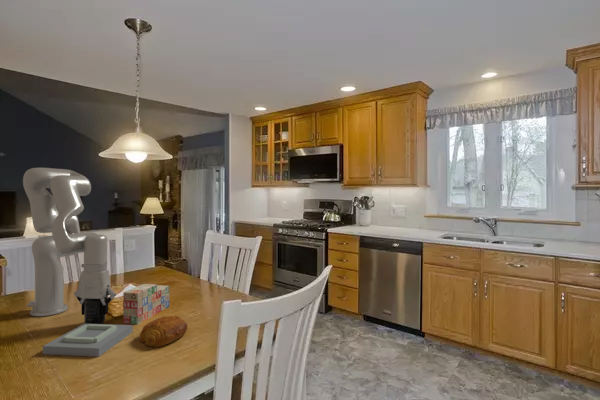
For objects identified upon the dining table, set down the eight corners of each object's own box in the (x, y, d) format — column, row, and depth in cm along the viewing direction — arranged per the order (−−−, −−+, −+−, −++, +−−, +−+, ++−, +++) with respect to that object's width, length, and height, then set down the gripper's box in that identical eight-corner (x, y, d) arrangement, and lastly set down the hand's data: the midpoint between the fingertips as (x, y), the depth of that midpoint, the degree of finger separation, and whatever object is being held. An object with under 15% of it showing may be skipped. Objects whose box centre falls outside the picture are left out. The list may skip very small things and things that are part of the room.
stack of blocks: (156, 305, 147) (156, 278, 147) (169, 306, 146) (169, 278, 146) (122, 323, 126) (122, 291, 126) (137, 325, 125) (137, 292, 125)
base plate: (42, 354, 102) (42, 342, 102) (84, 330, 120) (84, 320, 120) (98, 356, 100) (98, 344, 100) (132, 332, 118) (132, 321, 118)
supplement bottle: (90, 318, 129) (90, 288, 129) (108, 318, 130) (109, 288, 129) (80, 326, 122) (80, 293, 122) (99, 325, 123) (99, 293, 122)
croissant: (194, 339, 118) (197, 316, 119) (159, 352, 104) (163, 325, 105) (164, 331, 124) (167, 309, 125) (128, 341, 110) (131, 317, 111)
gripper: (66, 268, 122) (65, 316, 123) (111, 270, 121) (110, 319, 121) (80, 264, 130) (80, 309, 130) (123, 266, 129) (122, 311, 129)
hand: (94, 313), depth 126 cm, fingers closed on supplement bottle, 6 cm apart
